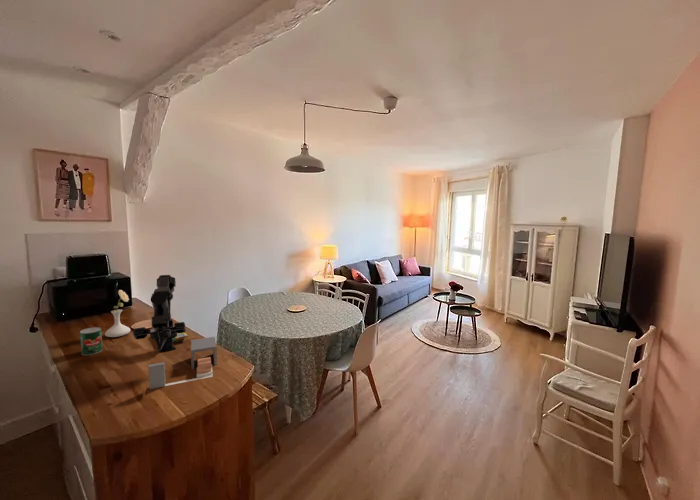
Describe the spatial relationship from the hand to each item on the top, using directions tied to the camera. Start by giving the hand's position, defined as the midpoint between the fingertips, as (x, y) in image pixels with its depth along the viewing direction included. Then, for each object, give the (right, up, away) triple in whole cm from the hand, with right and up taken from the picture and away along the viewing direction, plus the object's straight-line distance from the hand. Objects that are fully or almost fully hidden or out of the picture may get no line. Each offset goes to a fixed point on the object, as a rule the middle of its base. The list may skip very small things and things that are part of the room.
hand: (159, 349), depth 125 cm
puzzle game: (-18, -7, +39) cm, 43 cm away
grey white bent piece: (+11, -12, -2) cm, 16 cm away
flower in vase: (-50, -6, +43) cm, 66 cm away
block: (+17, -10, +3) cm, 20 cm away
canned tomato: (-46, -8, +21) cm, 52 cm away
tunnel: (+13, -11, +12) cm, 20 cm away
